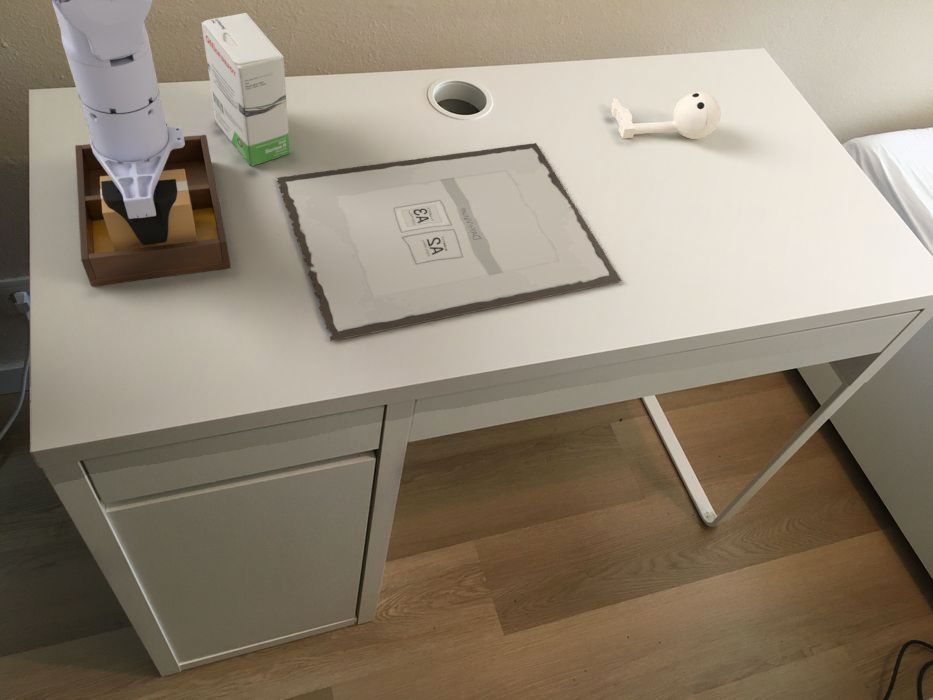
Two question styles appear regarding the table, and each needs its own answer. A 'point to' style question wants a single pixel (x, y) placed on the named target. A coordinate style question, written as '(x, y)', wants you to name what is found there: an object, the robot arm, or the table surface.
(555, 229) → the picture frame
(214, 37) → the ink box
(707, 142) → the table surface
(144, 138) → the robot arm
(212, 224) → the tray
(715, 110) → the figurine
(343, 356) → the table surface
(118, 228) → the parcel
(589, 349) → the table surface
